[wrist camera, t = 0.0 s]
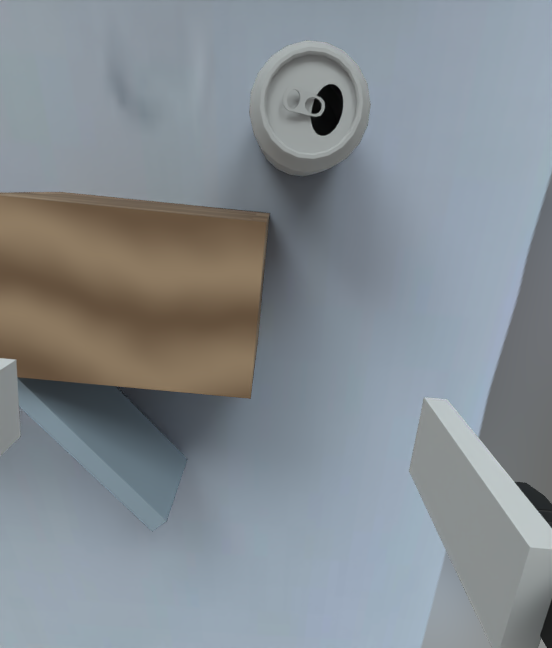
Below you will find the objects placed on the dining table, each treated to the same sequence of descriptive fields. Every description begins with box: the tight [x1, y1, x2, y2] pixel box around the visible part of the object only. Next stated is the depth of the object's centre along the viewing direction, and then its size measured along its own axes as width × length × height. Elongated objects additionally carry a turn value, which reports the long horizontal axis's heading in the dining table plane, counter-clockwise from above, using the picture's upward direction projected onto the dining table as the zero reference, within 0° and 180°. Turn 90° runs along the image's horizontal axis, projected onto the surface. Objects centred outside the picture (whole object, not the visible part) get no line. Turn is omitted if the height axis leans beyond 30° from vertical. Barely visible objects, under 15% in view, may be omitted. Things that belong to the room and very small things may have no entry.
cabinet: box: [0, 192, 270, 399], centre depth 36 cm, size 12×18×12 cm, turn 84°
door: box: [17, 377, 187, 532], centre depth 40 cm, size 3×18×9 cm, turn 39°
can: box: [249, 40, 371, 176], centre depth 33 cm, size 8×8×12 cm
